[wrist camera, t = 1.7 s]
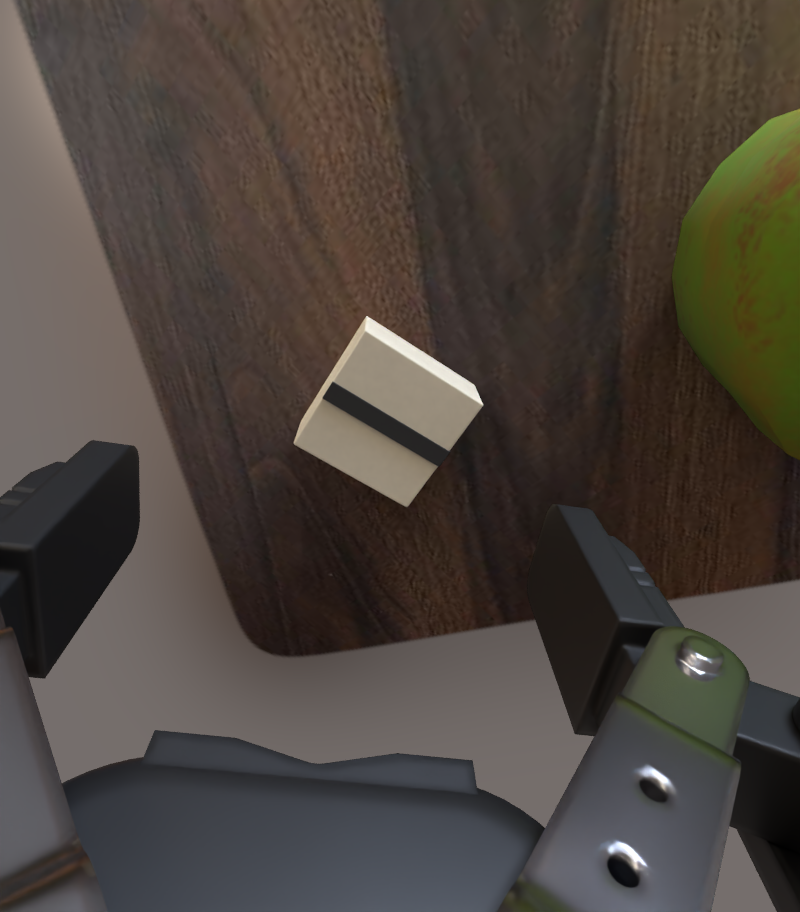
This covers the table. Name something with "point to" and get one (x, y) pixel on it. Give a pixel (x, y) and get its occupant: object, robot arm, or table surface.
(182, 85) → the table surface
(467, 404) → the ivory pad
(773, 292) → the apple
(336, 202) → the table surface
